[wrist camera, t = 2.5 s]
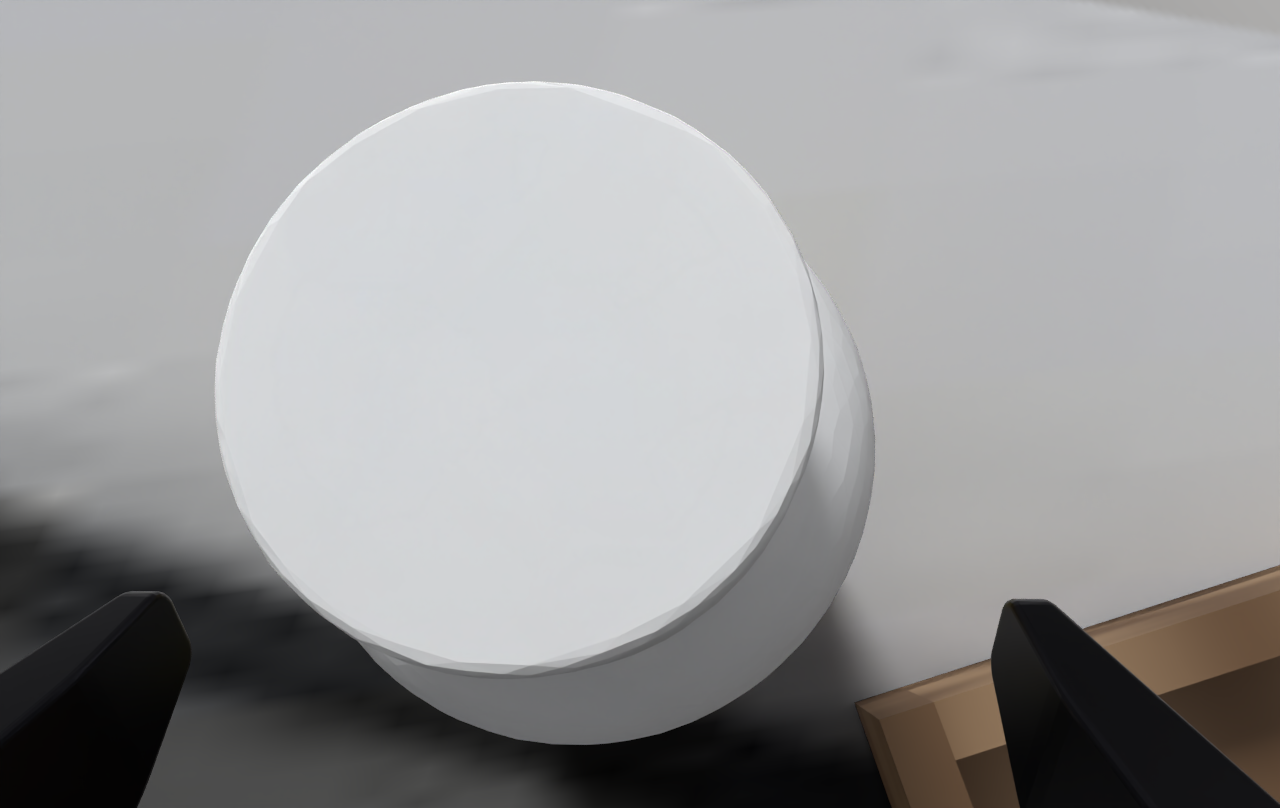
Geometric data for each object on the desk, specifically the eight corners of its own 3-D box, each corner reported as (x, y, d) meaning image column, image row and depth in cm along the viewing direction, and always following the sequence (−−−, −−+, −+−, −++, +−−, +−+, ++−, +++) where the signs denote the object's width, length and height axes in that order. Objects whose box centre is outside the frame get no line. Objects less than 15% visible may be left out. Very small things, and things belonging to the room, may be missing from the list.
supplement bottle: (647, 305, 20) (551, -180, 8) (861, 516, 19) (1179, 351, 6) (427, 509, 19) (-77, 349, 7) (633, 743, 18) (471, 1071, 6)
